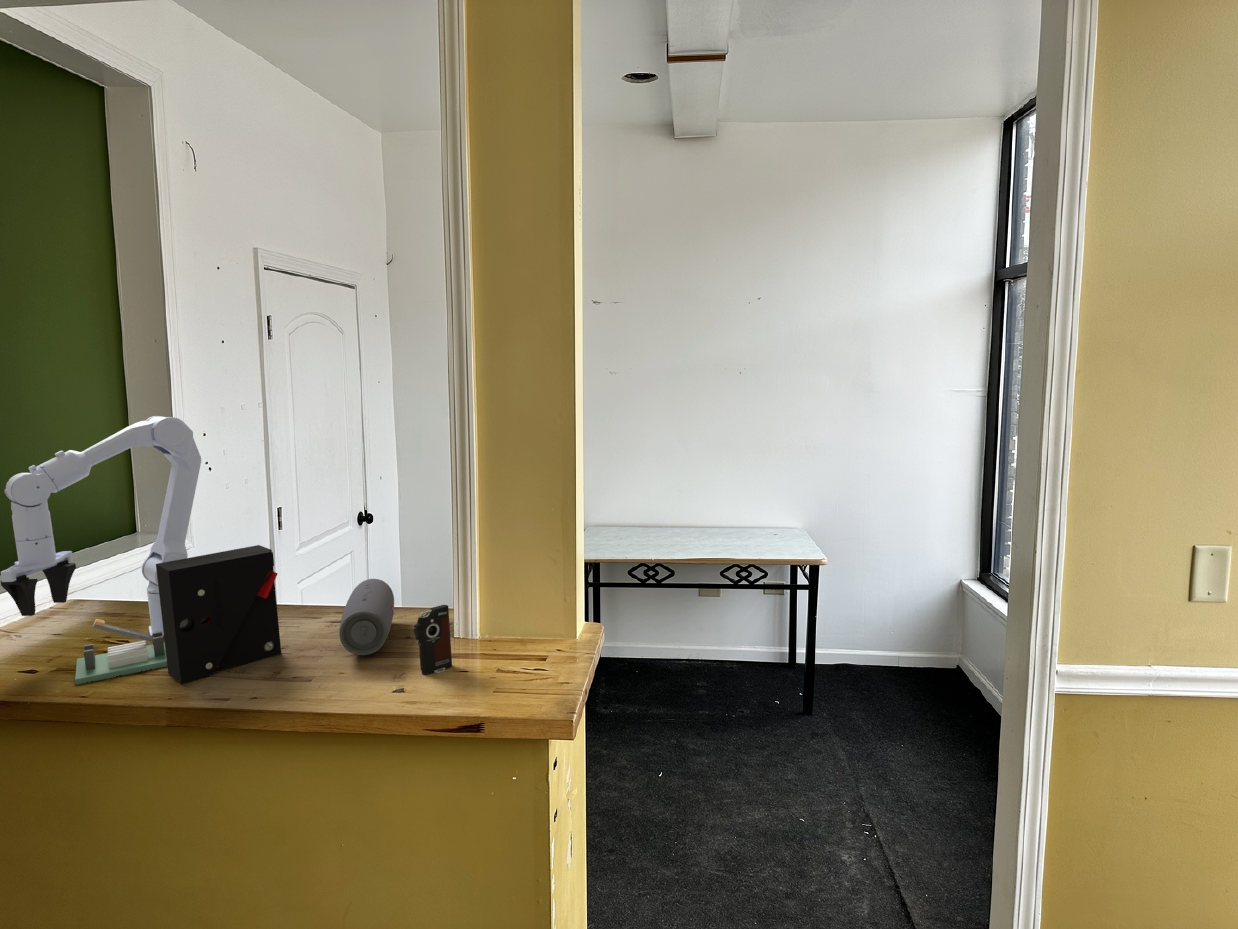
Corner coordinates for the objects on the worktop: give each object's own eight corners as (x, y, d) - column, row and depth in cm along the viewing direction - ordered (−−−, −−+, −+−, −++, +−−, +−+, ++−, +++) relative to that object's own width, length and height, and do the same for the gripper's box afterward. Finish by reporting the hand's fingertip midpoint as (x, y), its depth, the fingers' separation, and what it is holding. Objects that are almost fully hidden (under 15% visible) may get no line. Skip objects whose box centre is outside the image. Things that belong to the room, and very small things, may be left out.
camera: (421, 677, 137) (417, 615, 136) (415, 672, 140) (410, 611, 138) (455, 668, 141) (452, 607, 140) (449, 663, 143) (445, 603, 142)
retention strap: (160, 641, 152) (163, 635, 152) (160, 644, 150) (163, 638, 150) (92, 625, 146) (96, 618, 146) (92, 628, 144) (96, 621, 144)
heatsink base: (175, 645, 158) (173, 623, 157) (180, 663, 148) (178, 640, 147) (77, 664, 149) (74, 641, 149) (75, 685, 139) (72, 660, 139)
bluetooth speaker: (392, 659, 147) (388, 606, 145) (338, 665, 145) (334, 611, 143) (398, 620, 169) (395, 573, 167) (351, 625, 167) (348, 578, 165)
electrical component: (264, 643, 157) (254, 543, 154) (285, 656, 150) (275, 551, 147) (164, 670, 145) (152, 562, 142) (182, 685, 138) (169, 571, 135)
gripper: (44, 529, 157) (54, 597, 159) (-20, 547, 142) (-9, 621, 144) (79, 528, 156) (88, 596, 158) (17, 546, 142) (28, 621, 144)
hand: (44, 608), depth 151 cm, fingers open, 7 cm apart
